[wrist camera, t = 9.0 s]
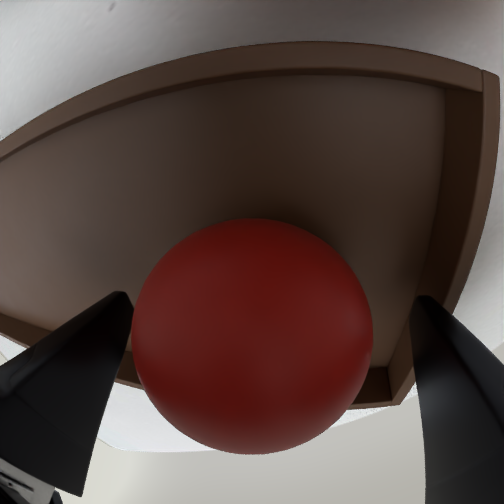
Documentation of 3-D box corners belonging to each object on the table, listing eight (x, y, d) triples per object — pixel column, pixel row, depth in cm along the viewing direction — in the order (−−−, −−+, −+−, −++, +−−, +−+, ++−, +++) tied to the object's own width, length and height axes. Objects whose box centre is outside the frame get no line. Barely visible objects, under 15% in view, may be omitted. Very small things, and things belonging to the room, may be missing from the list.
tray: (450, 73, 5) (500, 76, 3) (392, 362, 12) (400, 405, 10) (-64, 204, 13) (-79, 216, 10) (-19, 303, 20) (-30, 317, 17)
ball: (393, 281, 8) (423, 456, 4) (268, 347, 12) (235, 478, 7) (272, 140, 7) (159, 281, 2) (158, 256, 10) (64, 384, 5)
